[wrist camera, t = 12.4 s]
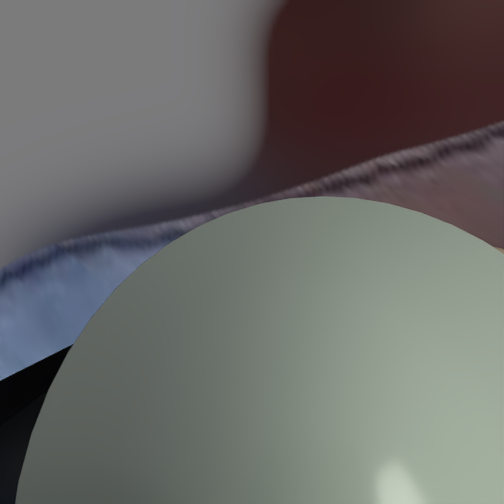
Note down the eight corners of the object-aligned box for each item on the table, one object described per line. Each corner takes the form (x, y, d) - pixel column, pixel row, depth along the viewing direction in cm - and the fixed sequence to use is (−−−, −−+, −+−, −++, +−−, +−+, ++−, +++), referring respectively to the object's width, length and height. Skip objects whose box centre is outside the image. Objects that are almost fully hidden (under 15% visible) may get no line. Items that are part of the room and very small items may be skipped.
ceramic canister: (317, 500, 14) (847, 1336, 2) (199, 463, 15) (-157, 842, 2) (338, 374, 16) (655, 261, 3) (232, 344, 17) (155, 152, 4)
